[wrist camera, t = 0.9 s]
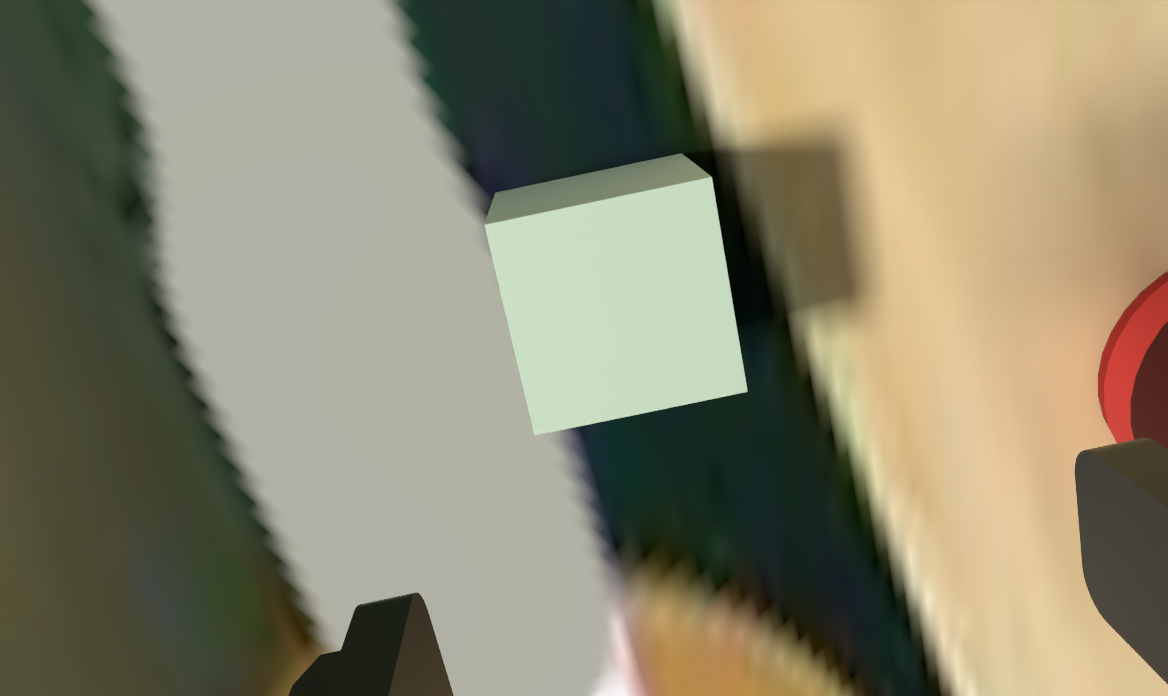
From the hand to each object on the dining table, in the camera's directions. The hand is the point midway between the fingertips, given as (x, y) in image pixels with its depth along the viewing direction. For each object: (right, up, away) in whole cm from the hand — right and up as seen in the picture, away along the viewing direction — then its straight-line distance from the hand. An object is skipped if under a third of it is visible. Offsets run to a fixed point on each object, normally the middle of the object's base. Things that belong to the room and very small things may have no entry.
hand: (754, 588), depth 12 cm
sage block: (-1, +5, +18) cm, 19 cm away
